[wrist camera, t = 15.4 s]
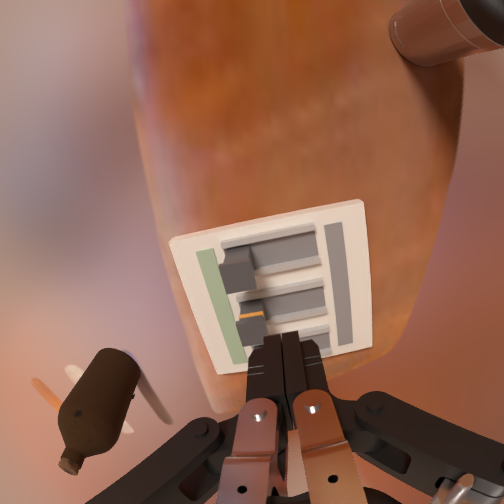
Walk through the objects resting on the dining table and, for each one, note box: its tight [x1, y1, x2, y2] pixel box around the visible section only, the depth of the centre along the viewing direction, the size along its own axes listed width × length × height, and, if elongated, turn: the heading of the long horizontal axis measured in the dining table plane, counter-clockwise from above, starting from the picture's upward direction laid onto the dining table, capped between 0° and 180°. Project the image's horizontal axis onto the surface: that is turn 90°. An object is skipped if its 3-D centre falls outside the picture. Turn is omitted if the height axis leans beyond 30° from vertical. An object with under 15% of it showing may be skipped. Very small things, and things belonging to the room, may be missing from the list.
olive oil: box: [58, 348, 140, 475], centre depth 40 cm, size 11×11×25 cm
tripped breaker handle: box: [236, 299, 269, 347], centre depth 40 cm, size 4×4×6 cm
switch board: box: [169, 199, 372, 374], centre depth 41 cm, size 26×24×8 cm
